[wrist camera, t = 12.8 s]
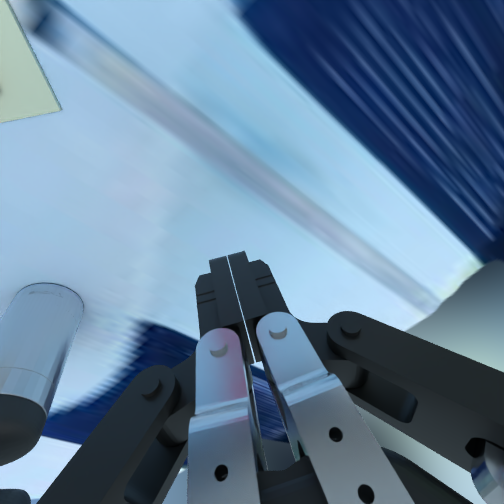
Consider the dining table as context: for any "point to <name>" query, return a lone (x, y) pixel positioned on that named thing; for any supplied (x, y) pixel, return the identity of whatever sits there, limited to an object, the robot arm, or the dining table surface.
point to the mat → (21, 73)
